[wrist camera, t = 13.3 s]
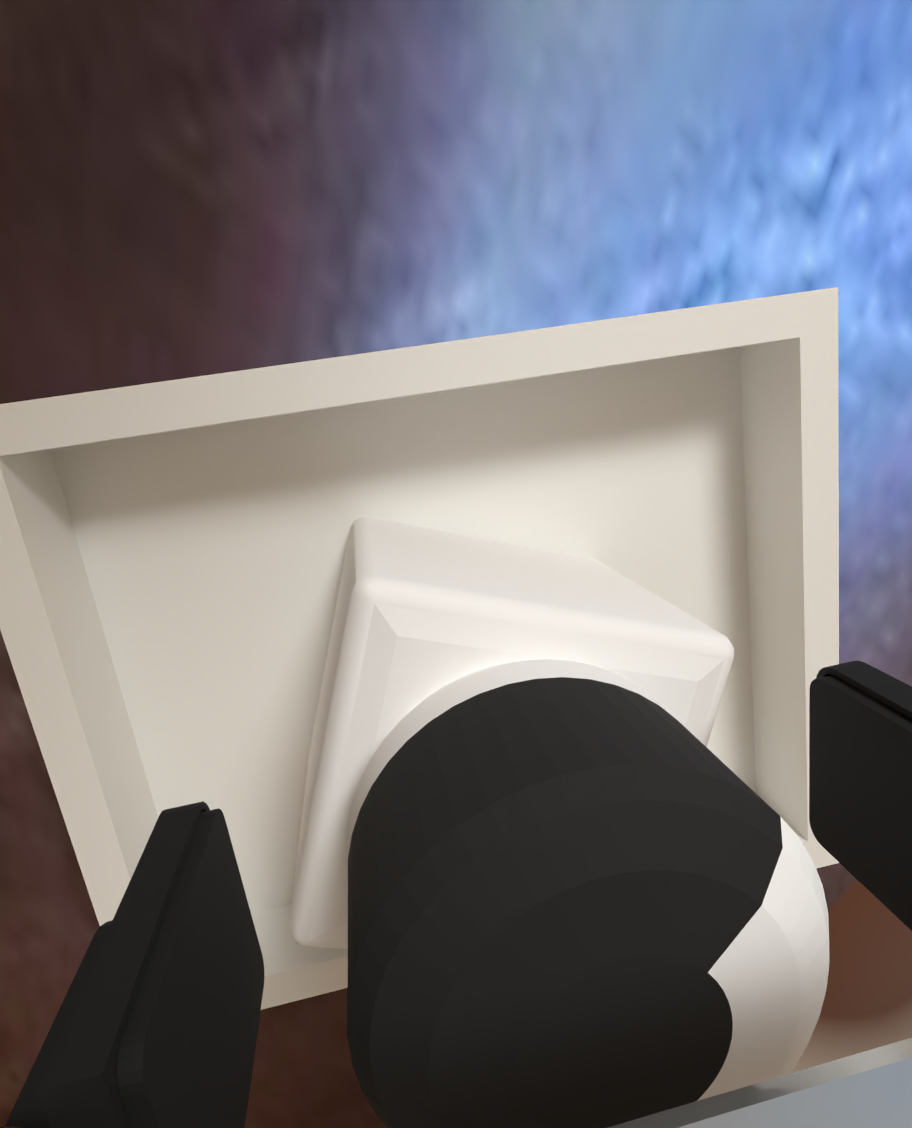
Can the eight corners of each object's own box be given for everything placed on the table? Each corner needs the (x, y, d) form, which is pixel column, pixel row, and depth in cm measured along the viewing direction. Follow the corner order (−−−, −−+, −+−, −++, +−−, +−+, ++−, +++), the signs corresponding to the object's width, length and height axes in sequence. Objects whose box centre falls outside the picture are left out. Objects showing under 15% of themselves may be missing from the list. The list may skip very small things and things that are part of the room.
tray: (3, 414, 16) (-72, 414, 13) (760, 307, 18) (838, 287, 15) (168, 949, 20) (138, 1040, 17) (775, 804, 22) (839, 862, 19)
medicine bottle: (307, 756, 19) (242, 1312, 7) (352, 511, 17) (360, 709, 6) (543, 782, 20) (807, 1283, 9) (601, 558, 19) (1008, 792, 7)
